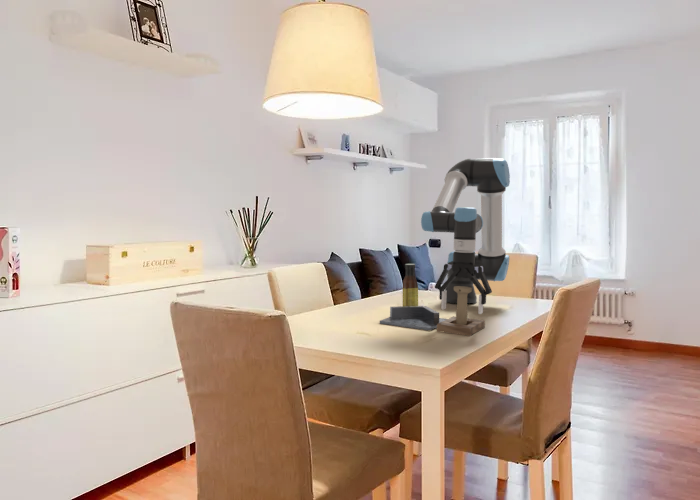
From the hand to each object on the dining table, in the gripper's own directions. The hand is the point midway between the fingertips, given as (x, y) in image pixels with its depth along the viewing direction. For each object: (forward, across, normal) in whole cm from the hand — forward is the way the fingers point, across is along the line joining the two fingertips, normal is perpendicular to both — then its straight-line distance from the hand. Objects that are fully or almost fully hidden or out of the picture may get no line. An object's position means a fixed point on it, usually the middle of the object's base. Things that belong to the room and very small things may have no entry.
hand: (461, 311), depth 202 cm
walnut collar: (+7, 0, 0) cm, 7 cm away
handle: (+7, 0, 0) cm, 7 cm away
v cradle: (+7, -18, 0) cm, 19 cm away
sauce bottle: (+7, -27, +15) cm, 32 cm away
